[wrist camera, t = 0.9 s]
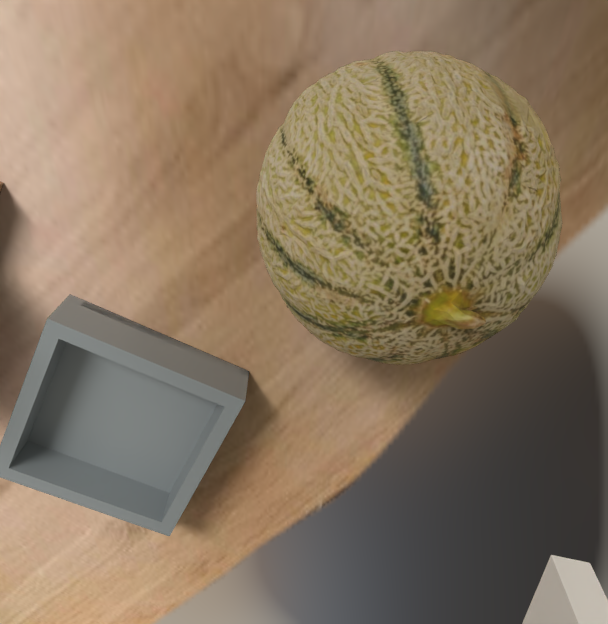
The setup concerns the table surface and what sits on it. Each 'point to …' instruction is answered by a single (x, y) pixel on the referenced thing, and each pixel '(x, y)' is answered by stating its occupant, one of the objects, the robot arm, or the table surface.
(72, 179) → the table surface
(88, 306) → the slate tray
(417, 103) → the cantaloupe
